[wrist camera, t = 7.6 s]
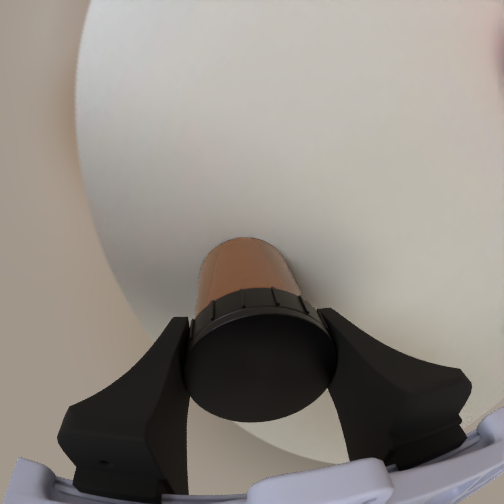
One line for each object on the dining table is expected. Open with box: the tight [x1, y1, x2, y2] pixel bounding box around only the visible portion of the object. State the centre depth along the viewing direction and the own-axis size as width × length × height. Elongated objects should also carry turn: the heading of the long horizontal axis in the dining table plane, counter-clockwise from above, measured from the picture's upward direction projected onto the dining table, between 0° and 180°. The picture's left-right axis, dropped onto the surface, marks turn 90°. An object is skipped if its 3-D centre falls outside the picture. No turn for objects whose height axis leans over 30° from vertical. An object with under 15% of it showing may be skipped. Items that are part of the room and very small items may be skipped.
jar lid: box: [182, 287, 337, 422], centre depth 11 cm, size 6×6×2 cm
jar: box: [195, 238, 304, 318], centre depth 14 cm, size 5×5×7 cm
